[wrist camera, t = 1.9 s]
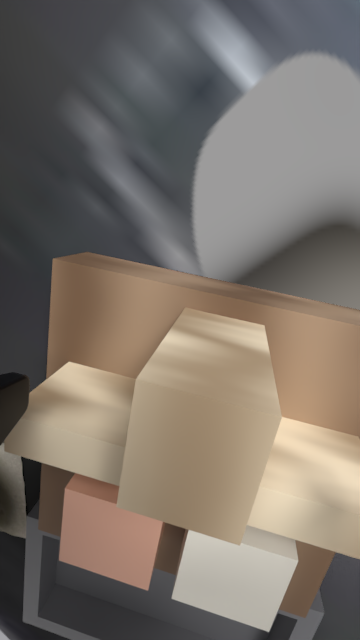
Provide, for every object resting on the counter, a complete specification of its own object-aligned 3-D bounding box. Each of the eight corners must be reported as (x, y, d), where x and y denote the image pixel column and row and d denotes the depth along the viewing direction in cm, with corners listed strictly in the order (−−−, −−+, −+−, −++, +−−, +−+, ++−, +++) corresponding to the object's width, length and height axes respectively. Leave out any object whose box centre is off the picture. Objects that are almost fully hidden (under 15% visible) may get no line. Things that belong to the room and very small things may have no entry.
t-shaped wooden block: (66, 392, 15) (-47, 499, 9) (74, 282, 13) (-56, 329, 7) (345, 467, 13) (421, 655, 7) (392, 354, 11) (536, 482, 6)
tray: (45, 580, 23) (22, 621, 21) (51, 481, 20) (26, 516, 18) (271, 660, 21) (275, 715, 19) (314, 563, 18) (324, 613, 16)
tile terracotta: (85, 511, 16) (59, 560, 14) (92, 446, 15) (64, 488, 13) (162, 536, 16) (147, 590, 14) (176, 471, 15) (163, 519, 12)
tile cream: (182, 542, 16) (171, 598, 13) (198, 477, 15) (189, 526, 12) (265, 568, 15) (269, 631, 13) (289, 503, 14) (298, 560, 12)
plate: (66, 486, 20) (37, 529, 17) (87, 251, 16) (52, 258, 13) (296, 557, 19) (305, 618, 16) (394, 317, 14) (432, 341, 11)
